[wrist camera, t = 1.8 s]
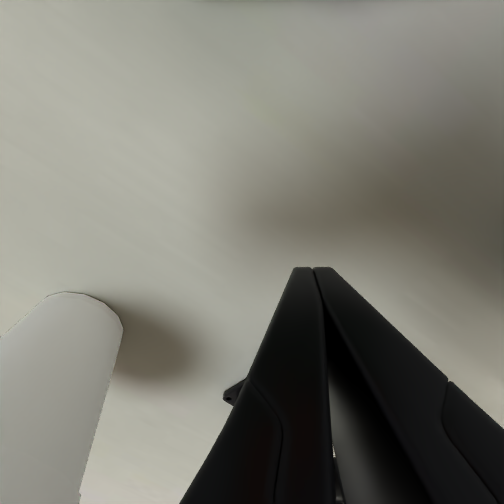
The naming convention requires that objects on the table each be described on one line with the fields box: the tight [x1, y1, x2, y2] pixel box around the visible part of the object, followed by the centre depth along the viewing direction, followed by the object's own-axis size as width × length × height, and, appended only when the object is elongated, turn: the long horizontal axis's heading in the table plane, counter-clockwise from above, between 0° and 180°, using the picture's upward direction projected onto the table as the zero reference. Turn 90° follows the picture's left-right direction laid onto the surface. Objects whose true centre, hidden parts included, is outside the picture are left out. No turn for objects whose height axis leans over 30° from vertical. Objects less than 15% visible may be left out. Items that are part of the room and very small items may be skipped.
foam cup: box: [0, 292, 124, 504], centre depth 19 cm, size 10×9×13 cm
